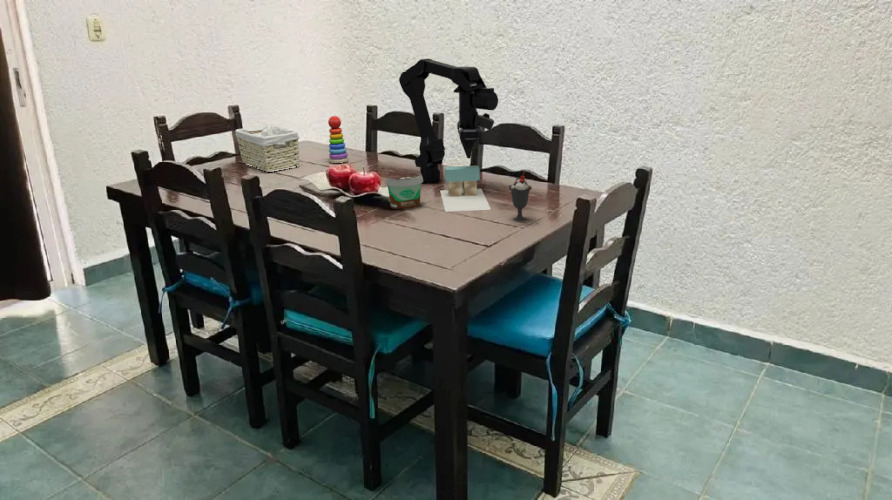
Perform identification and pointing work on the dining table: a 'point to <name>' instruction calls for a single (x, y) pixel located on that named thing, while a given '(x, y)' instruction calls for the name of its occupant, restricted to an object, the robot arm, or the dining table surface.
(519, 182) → the sundae
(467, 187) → the post
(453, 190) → the post
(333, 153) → the stacking toy
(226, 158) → the dining table surface
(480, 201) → the build mat
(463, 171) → the lintel
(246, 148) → the storage basket
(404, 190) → the food container
